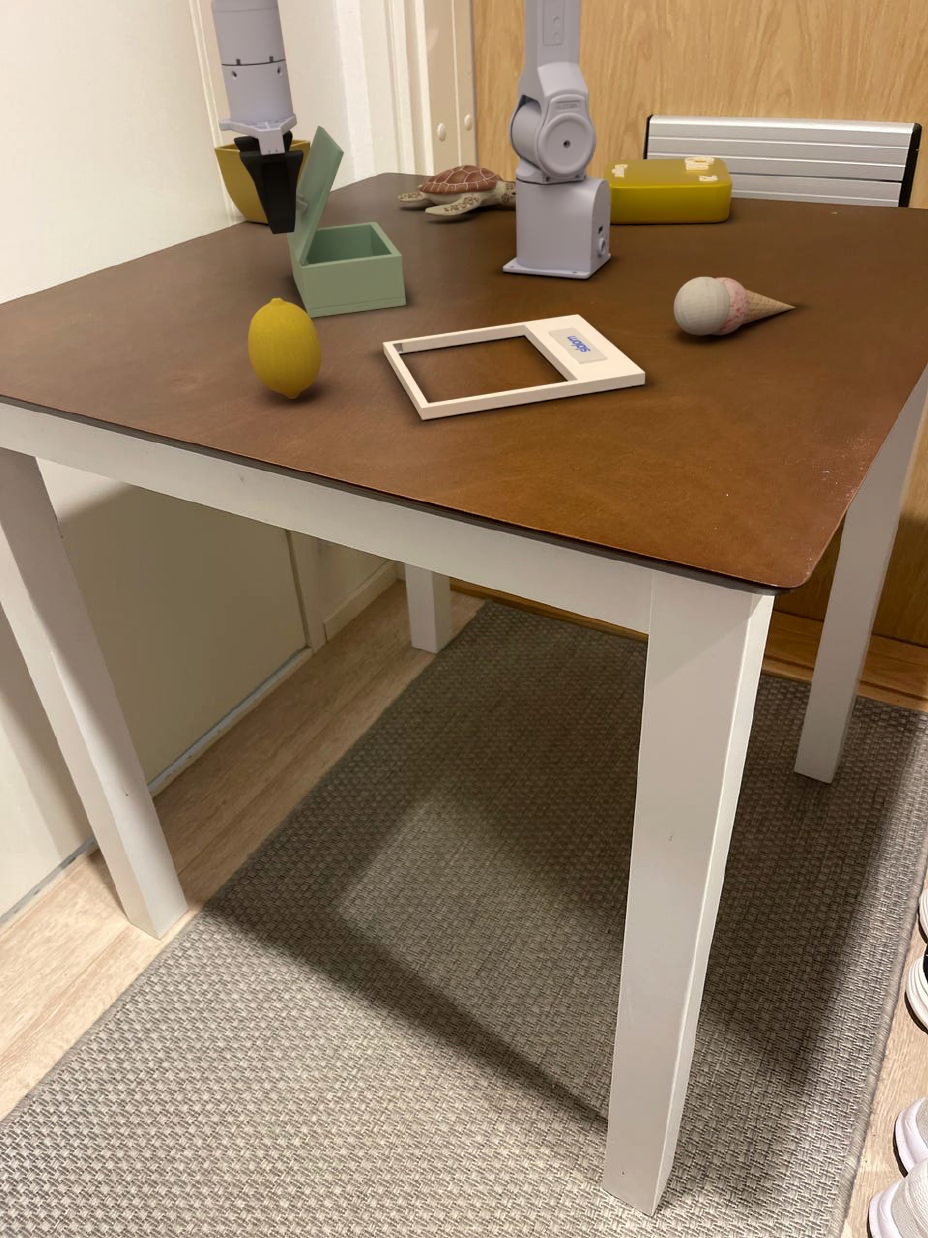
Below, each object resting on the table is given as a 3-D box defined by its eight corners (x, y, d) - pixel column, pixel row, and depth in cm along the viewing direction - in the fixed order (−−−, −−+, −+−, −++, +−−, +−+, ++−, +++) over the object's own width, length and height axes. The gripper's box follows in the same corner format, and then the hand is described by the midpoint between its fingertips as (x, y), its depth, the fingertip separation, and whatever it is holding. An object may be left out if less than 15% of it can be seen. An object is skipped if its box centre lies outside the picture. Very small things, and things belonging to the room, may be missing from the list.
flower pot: (274, 208, 127) (262, 134, 122) (321, 215, 123) (311, 139, 117) (226, 223, 122) (211, 147, 116) (274, 231, 117) (261, 152, 112)
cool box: (380, 267, 103) (376, 221, 100) (406, 305, 92) (401, 254, 89) (293, 278, 101) (286, 231, 98) (309, 318, 90) (301, 267, 88)
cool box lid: (323, 127, 94) (278, 106, 91) (344, 151, 83) (294, 128, 81) (288, 229, 98) (245, 211, 96) (304, 264, 87) (255, 244, 85)
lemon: (314, 414, 72) (298, 311, 68) (247, 411, 73) (227, 309, 69) (336, 385, 77) (323, 286, 72) (273, 383, 78) (255, 285, 73)
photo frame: (645, 370, 73) (421, 405, 70) (644, 383, 74) (422, 419, 70) (578, 312, 84) (382, 340, 81) (577, 324, 85) (384, 352, 82)
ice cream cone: (776, 339, 88) (664, 340, 80) (772, 287, 88) (659, 284, 80) (819, 328, 84) (707, 328, 76) (815, 274, 84) (701, 268, 76)
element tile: (603, 195, 124) (605, 155, 121) (720, 193, 122) (724, 152, 119) (601, 225, 112) (602, 182, 109) (730, 223, 110) (735, 179, 107)
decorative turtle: (495, 229, 113) (494, 184, 110) (376, 220, 119) (372, 177, 116) (549, 194, 126) (550, 153, 123) (439, 187, 132) (437, 148, 129)
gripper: (205, 57, 88) (233, 210, 96) (211, 74, 77) (243, 246, 85) (280, 50, 89) (301, 202, 97) (297, 67, 78) (320, 237, 86)
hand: (279, 222), depth 91 cm, fingers open, 7 cm apart
